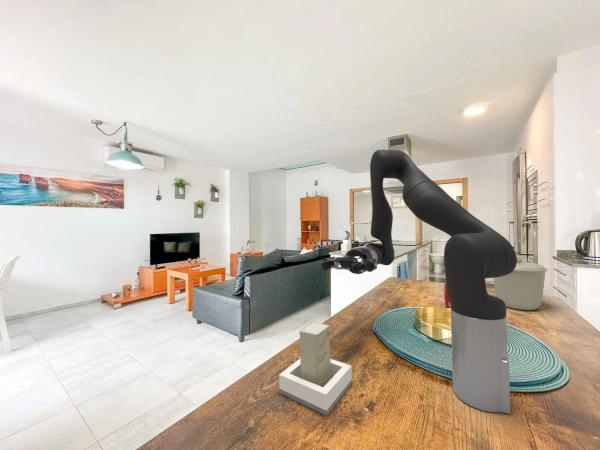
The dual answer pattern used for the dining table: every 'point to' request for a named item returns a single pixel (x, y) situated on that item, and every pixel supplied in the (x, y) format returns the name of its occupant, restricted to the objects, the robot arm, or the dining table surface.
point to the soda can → (446, 298)
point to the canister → (522, 286)
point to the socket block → (316, 386)
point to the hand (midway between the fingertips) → (337, 267)
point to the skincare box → (315, 354)
